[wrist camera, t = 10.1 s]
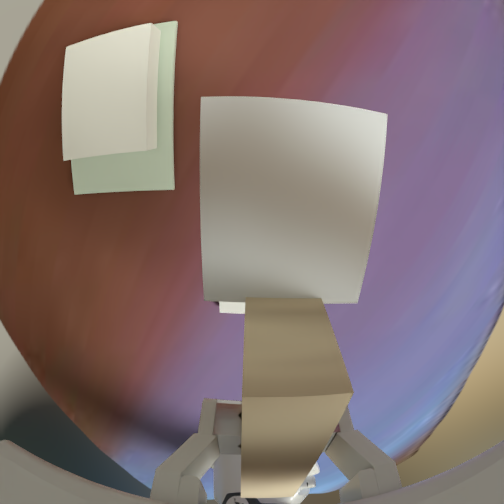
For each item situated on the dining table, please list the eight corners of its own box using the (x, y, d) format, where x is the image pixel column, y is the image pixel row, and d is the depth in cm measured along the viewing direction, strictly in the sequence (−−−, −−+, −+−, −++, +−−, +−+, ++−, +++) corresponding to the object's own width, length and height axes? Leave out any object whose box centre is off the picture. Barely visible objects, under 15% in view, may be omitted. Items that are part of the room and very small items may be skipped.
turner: (310, 425, 13) (320, 493, 9) (218, 425, 13) (212, 496, 9) (378, 114, 7) (482, 114, 3) (204, 99, 7) (149, 65, 3)
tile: (146, 150, 16) (151, 22, 12) (63, 160, 16) (66, 47, 12) (158, 147, 18) (162, 32, 14) (80, 156, 18) (82, 51, 14)
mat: (174, 188, 20) (173, 189, 19) (77, 193, 20) (74, 194, 19) (177, 22, 14) (176, 20, 14) (76, 46, 14) (73, 46, 14)
